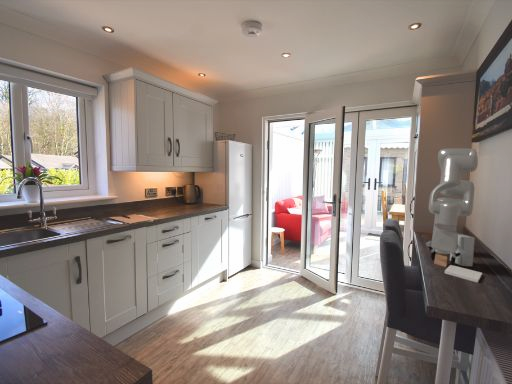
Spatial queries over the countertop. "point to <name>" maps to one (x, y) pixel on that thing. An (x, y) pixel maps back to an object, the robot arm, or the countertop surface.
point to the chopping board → (463, 273)
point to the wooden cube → (441, 259)
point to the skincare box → (468, 247)
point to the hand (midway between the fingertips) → (442, 261)
